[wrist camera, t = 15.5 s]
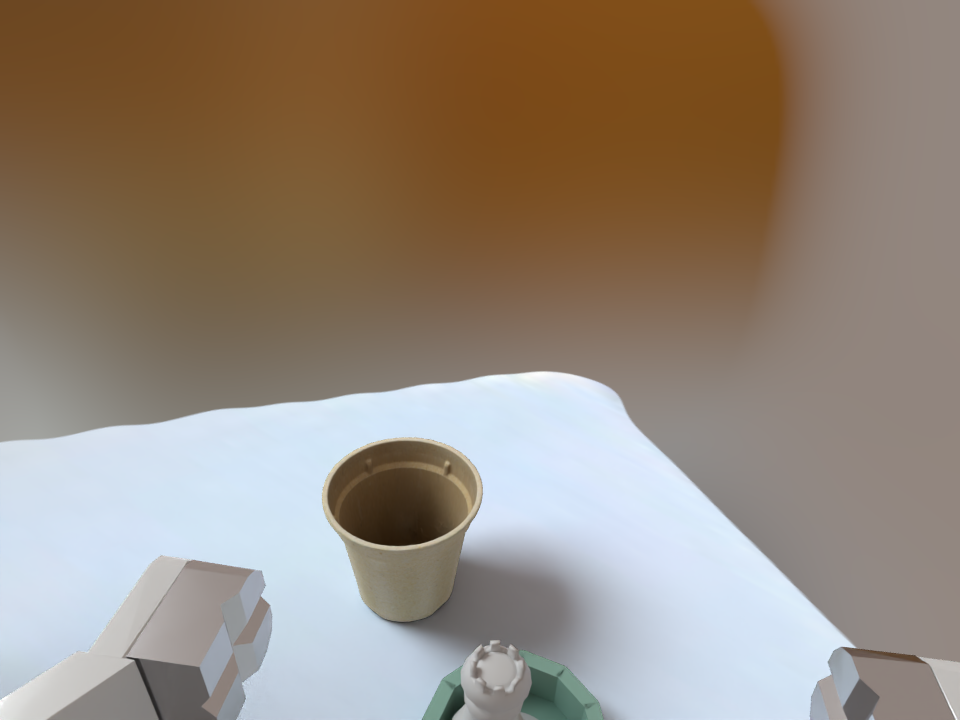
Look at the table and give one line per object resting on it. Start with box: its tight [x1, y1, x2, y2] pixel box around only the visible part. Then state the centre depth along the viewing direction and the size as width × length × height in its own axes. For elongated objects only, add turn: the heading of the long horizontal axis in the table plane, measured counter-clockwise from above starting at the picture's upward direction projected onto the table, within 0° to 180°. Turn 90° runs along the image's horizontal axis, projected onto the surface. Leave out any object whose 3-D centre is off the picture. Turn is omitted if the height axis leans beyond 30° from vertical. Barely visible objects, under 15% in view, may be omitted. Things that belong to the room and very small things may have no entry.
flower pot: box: [322, 437, 483, 622], centre depth 42 cm, size 9×9×9 cm
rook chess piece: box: [452, 640, 532, 720], centre depth 32 cm, size 4×4×8 cm
